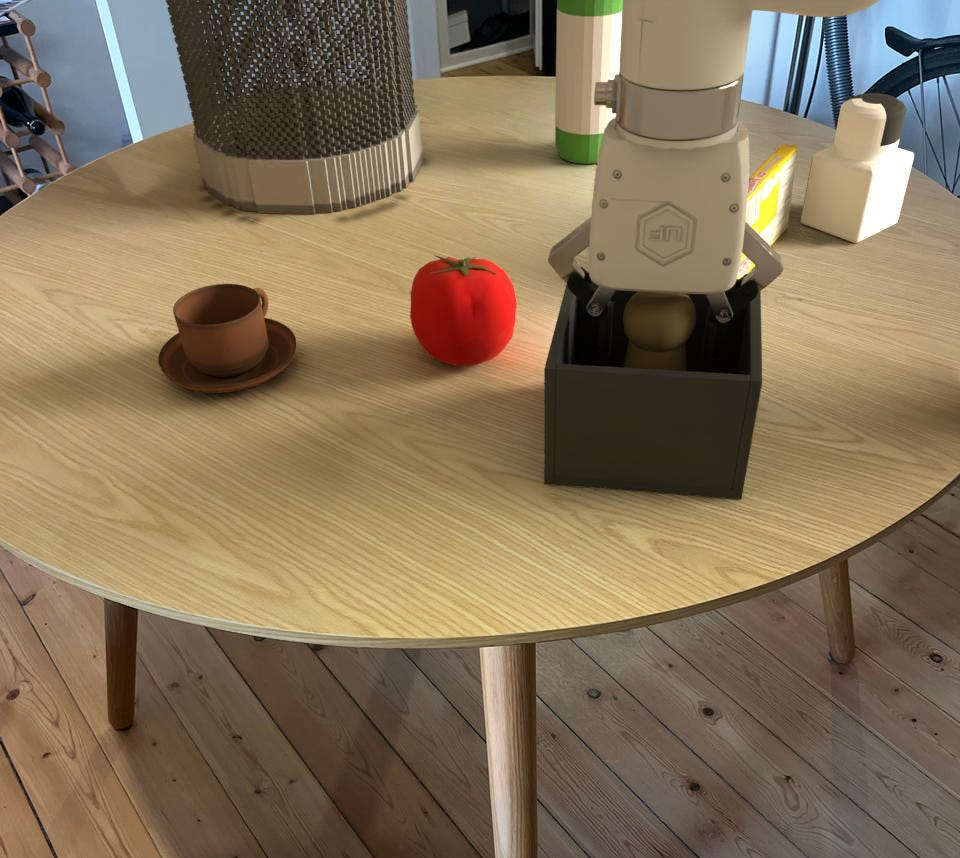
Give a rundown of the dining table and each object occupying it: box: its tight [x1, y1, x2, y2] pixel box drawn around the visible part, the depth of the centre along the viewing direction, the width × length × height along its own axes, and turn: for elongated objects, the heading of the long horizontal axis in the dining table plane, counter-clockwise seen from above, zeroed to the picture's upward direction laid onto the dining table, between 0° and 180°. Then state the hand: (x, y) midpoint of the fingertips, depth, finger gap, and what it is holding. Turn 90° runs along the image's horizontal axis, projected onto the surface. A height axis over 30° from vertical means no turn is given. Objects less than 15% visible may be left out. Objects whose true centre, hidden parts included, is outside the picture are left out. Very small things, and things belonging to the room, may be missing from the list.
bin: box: [543, 271, 763, 500], centre depth 77 cm, size 15×15×10 cm
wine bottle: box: [554, 0, 623, 165], centre depth 112 cm, size 8×8×30 cm
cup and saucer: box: [157, 283, 297, 394], centre depth 88 cm, size 12×12×6 cm
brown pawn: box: [623, 292, 696, 371], centre depth 76 cm, size 6×6×11 cm
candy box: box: [737, 143, 798, 279], centre depth 99 cm, size 16×2×8 cm, turn 149°
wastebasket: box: [165, 0, 424, 215], centre depth 112 cm, size 25×25×30 cm
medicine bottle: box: [800, 92, 915, 244], centre depth 102 cm, size 7×7×12 cm
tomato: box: [409, 255, 518, 367], centre depth 88 cm, size 9×10×8 cm
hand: (654, 358), depth 76 cm, fingers open, 7 cm apart
